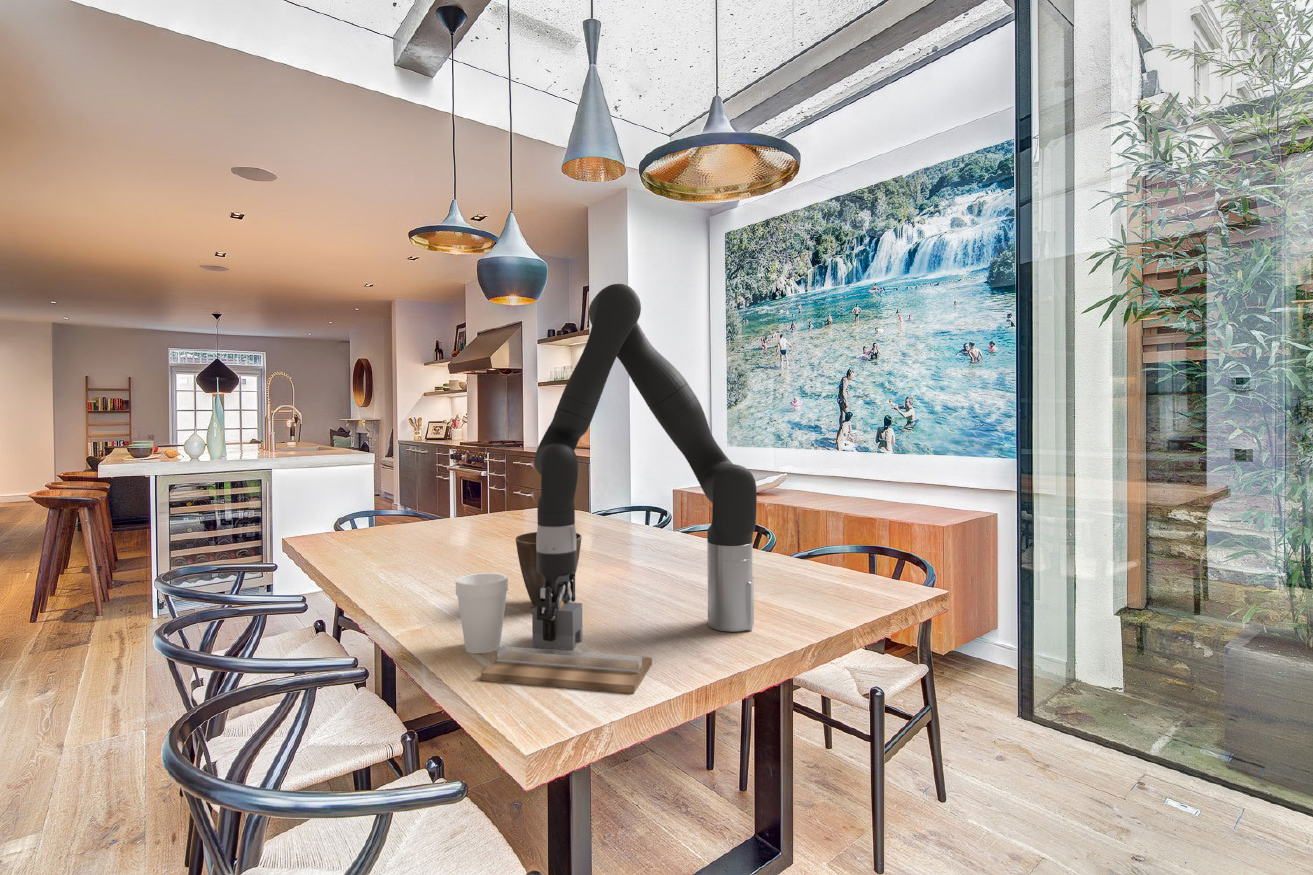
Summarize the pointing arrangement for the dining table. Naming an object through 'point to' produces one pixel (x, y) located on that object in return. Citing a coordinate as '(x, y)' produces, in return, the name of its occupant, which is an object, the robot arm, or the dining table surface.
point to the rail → (570, 659)
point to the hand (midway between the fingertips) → (557, 633)
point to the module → (560, 627)
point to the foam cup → (482, 610)
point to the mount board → (567, 676)
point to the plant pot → (534, 562)
